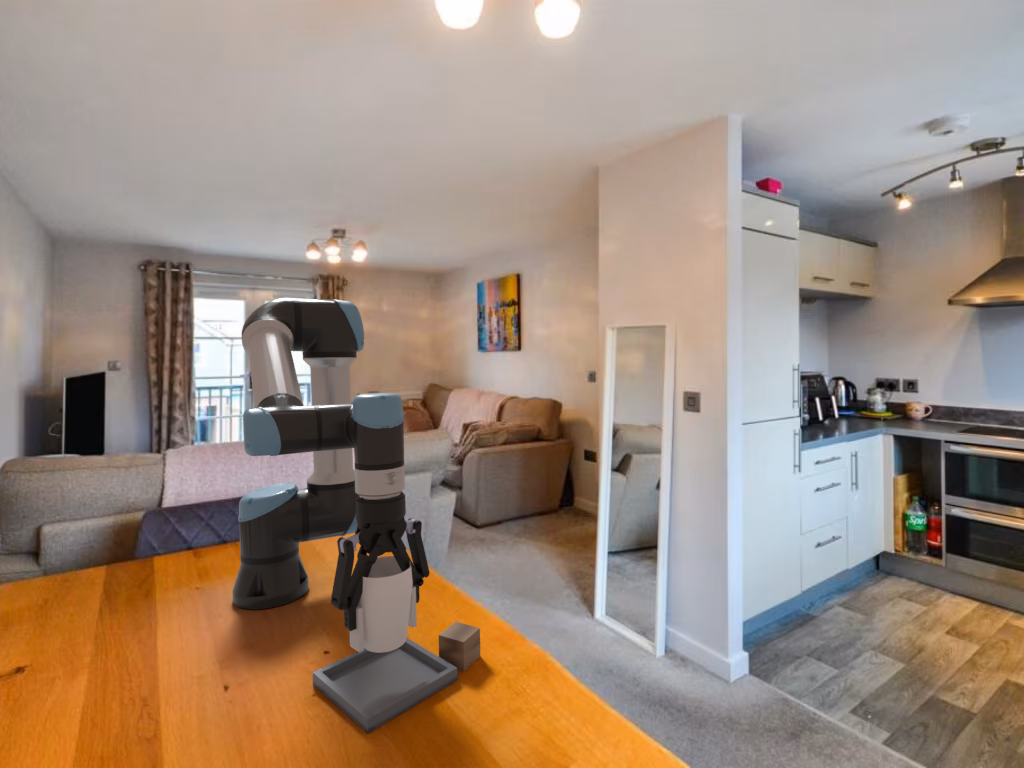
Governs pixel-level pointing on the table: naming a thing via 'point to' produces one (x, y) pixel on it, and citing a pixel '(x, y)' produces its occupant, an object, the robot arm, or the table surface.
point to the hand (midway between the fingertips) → (384, 635)
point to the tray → (383, 682)
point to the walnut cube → (460, 645)
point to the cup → (386, 605)
